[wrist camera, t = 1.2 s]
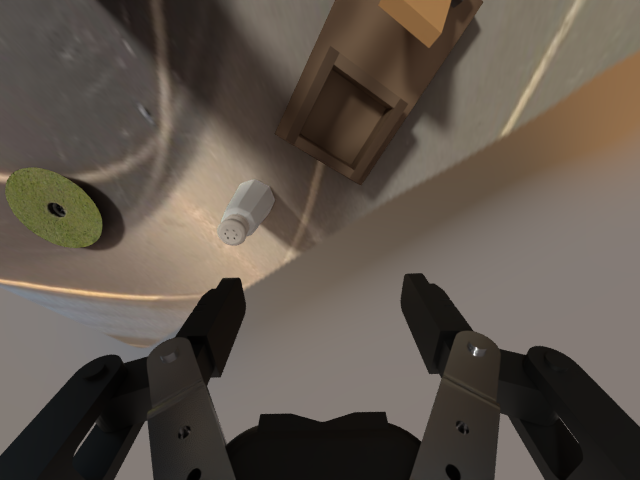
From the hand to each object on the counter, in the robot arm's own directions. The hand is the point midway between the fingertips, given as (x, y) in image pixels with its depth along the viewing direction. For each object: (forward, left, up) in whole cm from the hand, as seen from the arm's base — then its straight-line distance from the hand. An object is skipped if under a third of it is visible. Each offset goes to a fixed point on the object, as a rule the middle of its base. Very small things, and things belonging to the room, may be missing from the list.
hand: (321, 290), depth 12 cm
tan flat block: (-1, +18, -18) cm, 25 cm away
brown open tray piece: (-1, +12, -23) cm, 26 cm away
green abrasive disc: (-28, -21, -23) cm, 42 cm away
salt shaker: (-6, -7, -23) cm, 25 cm away
